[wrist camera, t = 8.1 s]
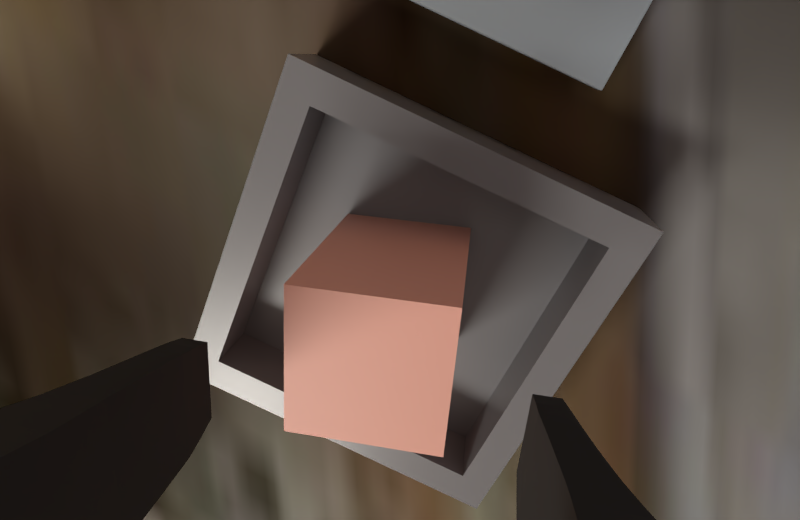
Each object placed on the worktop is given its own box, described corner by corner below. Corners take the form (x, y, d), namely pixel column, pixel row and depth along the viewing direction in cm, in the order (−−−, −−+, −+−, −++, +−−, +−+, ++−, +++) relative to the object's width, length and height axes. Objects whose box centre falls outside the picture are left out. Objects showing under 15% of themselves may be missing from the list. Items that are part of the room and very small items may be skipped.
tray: (639, 208, 17) (663, 232, 14) (477, 458, 21) (476, 508, 19) (316, 54, 17) (288, 53, 14) (217, 336, 21) (183, 371, 18)
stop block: (470, 227, 17) (462, 308, 12) (457, 338, 19) (443, 457, 13) (348, 213, 18) (283, 284, 12) (343, 323, 19) (283, 430, 14)
